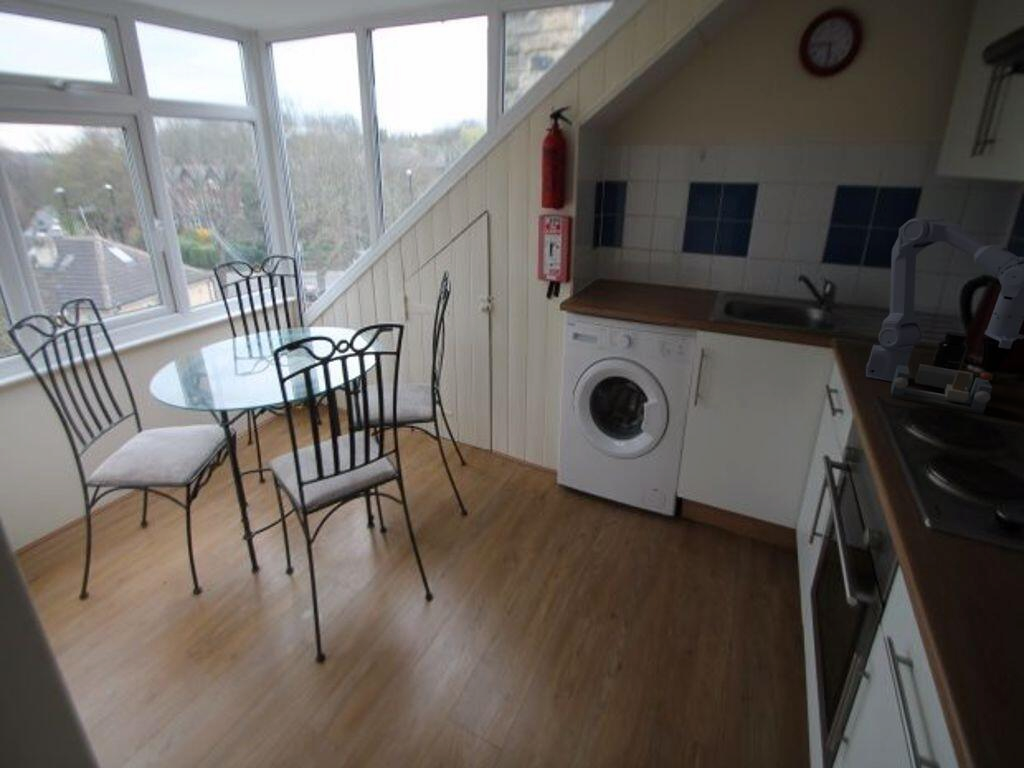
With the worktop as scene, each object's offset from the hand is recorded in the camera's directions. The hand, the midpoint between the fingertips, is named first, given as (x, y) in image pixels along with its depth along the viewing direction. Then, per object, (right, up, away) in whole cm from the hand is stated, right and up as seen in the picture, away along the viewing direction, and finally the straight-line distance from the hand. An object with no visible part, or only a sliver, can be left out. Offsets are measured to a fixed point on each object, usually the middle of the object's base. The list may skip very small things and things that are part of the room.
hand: (988, 368), depth 132 cm
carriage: (-4, -8, +6) cm, 10 cm away
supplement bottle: (+11, -1, +27) cm, 29 cm away
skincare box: (+7, -4, +13) cm, 16 cm away
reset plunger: (0, -2, +1) cm, 2 cm away
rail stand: (-7, -8, +8) cm, 13 cm away
